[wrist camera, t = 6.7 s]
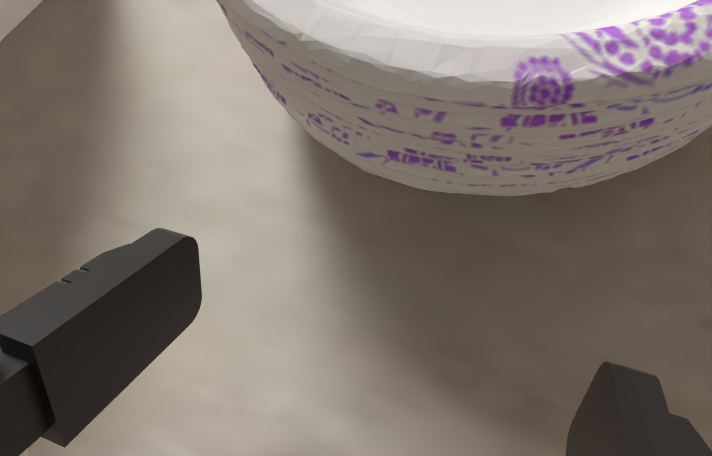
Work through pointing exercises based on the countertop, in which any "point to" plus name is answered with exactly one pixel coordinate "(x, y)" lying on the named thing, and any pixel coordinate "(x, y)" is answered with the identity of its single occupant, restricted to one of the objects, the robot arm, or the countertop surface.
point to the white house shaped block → (14, 13)
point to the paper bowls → (487, 85)
